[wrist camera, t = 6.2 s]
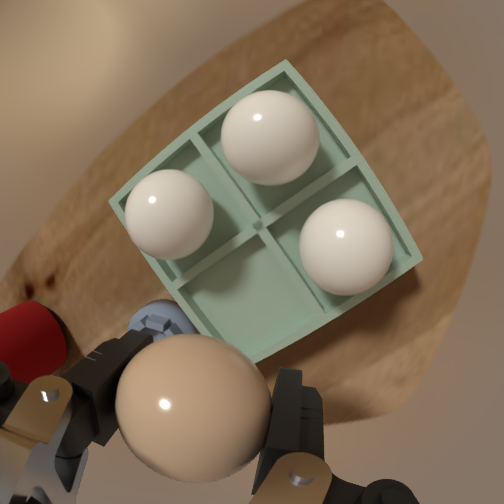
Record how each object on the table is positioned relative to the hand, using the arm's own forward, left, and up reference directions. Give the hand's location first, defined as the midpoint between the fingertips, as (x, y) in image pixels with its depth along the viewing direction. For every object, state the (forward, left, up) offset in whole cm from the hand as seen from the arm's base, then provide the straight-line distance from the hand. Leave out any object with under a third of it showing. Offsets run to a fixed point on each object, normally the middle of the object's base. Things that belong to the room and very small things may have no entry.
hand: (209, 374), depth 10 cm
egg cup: (-7, 0, -10) cm, 12 cm away
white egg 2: (+6, +6, -8) cm, 11 cm away
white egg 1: (0, +6, -8) cm, 10 cm away
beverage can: (-19, +6, -10) cm, 23 cm away
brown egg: (0, 0, 0) cm, 0 cm away
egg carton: (+3, +3, -10) cm, 11 cm away
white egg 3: (+6, 0, -8) cm, 10 cm away
